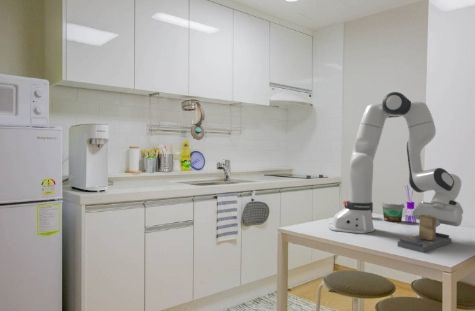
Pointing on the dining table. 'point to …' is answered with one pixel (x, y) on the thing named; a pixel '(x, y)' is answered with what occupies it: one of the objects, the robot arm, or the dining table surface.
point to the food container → (392, 212)
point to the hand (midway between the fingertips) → (430, 228)
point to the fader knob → (427, 227)
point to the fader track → (425, 242)
